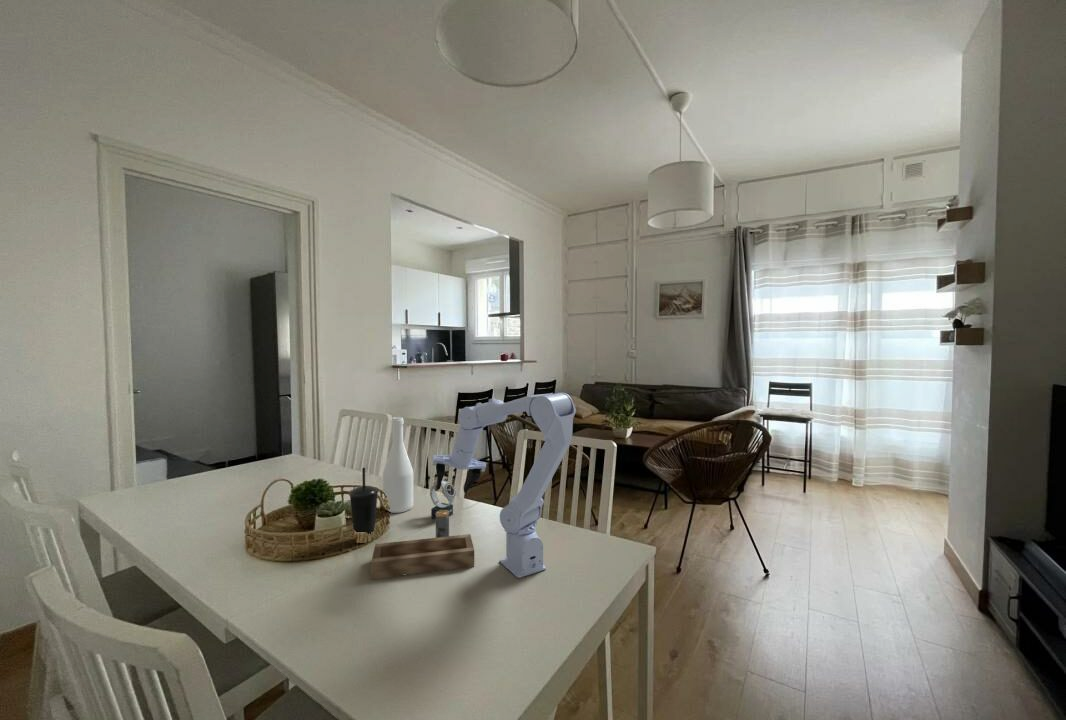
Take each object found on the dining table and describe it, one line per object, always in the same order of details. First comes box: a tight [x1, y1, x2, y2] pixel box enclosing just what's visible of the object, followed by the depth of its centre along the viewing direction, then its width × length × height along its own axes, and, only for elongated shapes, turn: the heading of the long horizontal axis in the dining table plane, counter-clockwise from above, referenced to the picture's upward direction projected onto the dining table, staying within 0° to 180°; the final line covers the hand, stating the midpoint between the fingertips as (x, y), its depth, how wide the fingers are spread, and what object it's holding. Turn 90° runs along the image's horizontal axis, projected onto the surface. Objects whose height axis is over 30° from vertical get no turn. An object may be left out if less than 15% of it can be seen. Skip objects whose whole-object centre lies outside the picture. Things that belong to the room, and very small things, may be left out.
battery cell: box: [435, 510, 450, 538], centre depth 117 cm, size 4×4×8 cm
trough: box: [370, 533, 475, 580], centre depth 105 cm, size 24×9×4 cm, turn 104°
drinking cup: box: [348, 467, 380, 534], centre depth 117 cm, size 8×8×20 cm
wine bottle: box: [382, 416, 414, 514], centre depth 140 cm, size 10×10×30 cm
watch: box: [429, 480, 456, 521], centre depth 134 cm, size 6×8×11 cm
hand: (451, 488), depth 119 cm, fingers open, 7 cm apart
